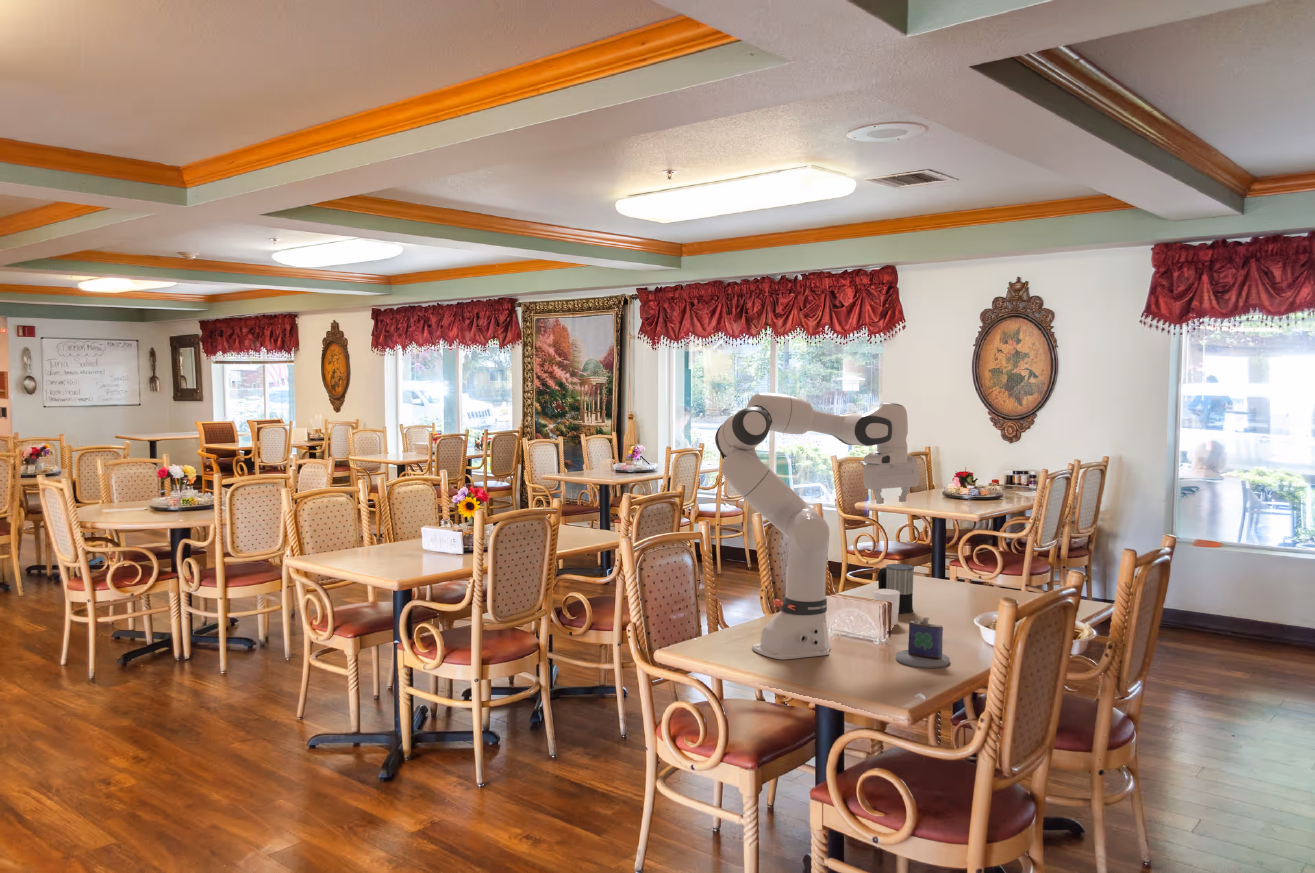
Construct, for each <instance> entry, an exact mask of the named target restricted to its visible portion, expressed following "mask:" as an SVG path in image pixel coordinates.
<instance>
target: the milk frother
mask: <svg viewBox="0 0 1315 873" xmlns="http://www.w3.org/2000/svg"><path fill="white" fill-rule="evenodd" d="M914 569H915V566H913V565H910V564H905V563H889V564H885V566H884V567H881V568H880V569H879V571H878V575H877V579H878V580H877V581H878V582H877V583H878V584H877V586H878V589H892V590H897V591H899V592H900V598H899V612H898V614H906V613H907V614H909V613H913V612H914V608H913V601H914V600H913V594H914V593H913V592H914Z"/></svg>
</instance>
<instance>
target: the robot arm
mask: <svg viewBox="0 0 1315 873" xmlns="http://www.w3.org/2000/svg"><path fill="white" fill-rule="evenodd" d="M908 420H909V419H908V413H907V409H906V407H905V406H904V405H902V404H899V403H894V402H885V401H884V402H881V403H879V405H878V406H876V407H874V408H872V409H871V410H869V411H867V412H865V413H860V412H859V413H858V412H852V411H850V412H845V413H841V414H833V413H828V412H824V411H819V410H815V409H814V407H813V406H812V404H811V403H810V402H809V401H808V400H804V399H802V398H799V397H796V396H792V395H788V394H783V393H775V392H758V393H755V394H753V395H752V396H751V397H750V399H749V401H748V403H747V405H746V407H745V408H742V409H740V410H739V411H738V412H736V413H735V414H733V415H731V416H730V417H728V418H727V419H726V420H724V422H723V423H722V424H721V425H719V427H718V428H717V430H716V432H715V433H716V434H715V437H714V440H715V441H714V442H715V446H716V448H717V450H718V452H719V453H720V455H721V458H722V460H723V461H722V463H721V472H722V474H723V476H724V478H725V479H726V480H727V481H728V483H729V484H730V485H731V487H732V488H733V489H734V490H735V491H736V492H737V493H738V494H739V495H740V496H741V497H742V498H743V499H744V500H745V501H746V502H747V503H748V504H749V505H751V506H752V507H753V508H754V509H755V510H756V511H757V512H758V513H759V514H760V515H761V516H762V517H764V518H765V519H766V520H767V521H768V522H769V523H771V524H772V526H774V527H775V528H776V529H777V530H778V531H780V532H781V533H782V534H783V535H784V537H786V538H787V539H788V548H787V549H788V551H787V552H788V553H787V563H786V569H785V596H784V598H783V600H782V599H778V598H775V599H774V600H773V605H774V607H778V608H780V611H779V612H778V613H777V614H776V615H774V617H772V619H770V621H769V622H767V623H766V624H765V625H764V626H763V628H762V630H761V633H760V634H761V635H760V642H758V643H757V642H756V643H754V644H752V646H751V647H752V648H751V649H752V650H753V651H754V652H756V653H758V654H760V655H762V656H765V657H768V658H771V659H775V660H776V659H777V660H793V659H802V658H810V657H811V658H812V657H819V656H820V657H821V656H827V655H830V650H831V645H830V641H829V636H828V628H827V618H826V612H827V611H828V603H827V602H828V600H827V597H826V582H827V581H826V576H827V574H826V572H827V563H828V555H829V546H830V527H829V524H828V522H827V521H826V520H825V519H824V517H823V516H821V515H820V514H819V513H818V512H817V511H816V510H815V509H813V507H811V506H810V505H809V504H808V503H807V502H806V501H805V500H804V499H803V498H802V497H800V496H799V494H797V493H796V492H795V491H794V490H793V489H792V488H791V487H790V486H789V485H788V484H787V483H786V482H785V481H784V480H782V479H781V478H780V476H778V475H777V474H776V473H775V471H772V469H771V468H769V467H768V466H767V465H766V463H764V462H763V461H761V459H760V458H759V457H758V454H757V452H756V448H757V447H758V446H759V444H761V443H762V442H764V441H765V439H766V438H767V436H768V434H769V431H772V432H777V433H782V434H787V435H804V434H806V433H808V432H815V433H819V434H820V433H821V434H825V435H828V436H829V435H830V436H832V437H834V438H836V440H838V441H839V442H841V443H842V444H845V445H848V446H860V447H872V446H876V450H874V451H872V452H871V453H868V454H866V455H865V456H863V463H865V464H864V467H863V470H862V484H863V487H864V489H866V490H872V493H873V495H874V497H875V503H876V504H877V505H883V504H885V498H884V497H882V494H881V493H882V491H883V489H884V490H885V489H896V488H901V493H900V495H898V502H900V503H906V502H907V496H908V494H909V492H910V490H911V489H910V488H911V487H912V488H913V487H918V485H919V484H920V474H919V466H918V459H917V458H916V457H914V456H913V455H910V456H909V455H908V443H907V435H908V432H909V423H908Z"/></svg>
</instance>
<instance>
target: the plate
mask: <svg viewBox="0 0 1315 873" xmlns="http://www.w3.org/2000/svg"><path fill="white" fill-rule="evenodd" d="M895 660H896V661H897V662H898V663H900V664H902V665H905V666H909V667H912V668H913V667H914V668H919V669H939V668H944V667H947V666H949V665H950V664H951V663H950V660H951V659H950V657H949V656H948V655H946V654H945V653H942V658H941V659H940V660H939V659H930V658H924V657H917V656H912V655H909V653H908V649H904V650H901V651H897V652H896V653H895Z"/></svg>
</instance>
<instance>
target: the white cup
mask: <svg viewBox="0 0 1315 873" xmlns="http://www.w3.org/2000/svg"><path fill="white" fill-rule="evenodd" d="M899 598H900V592H899V591H897V590H892V589H879V588H878V589H875V590H873V600H884V601H889V602H891V603H892V626H896V625H898V619H899V618H898V617H899V613H898V612H899Z"/></svg>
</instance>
